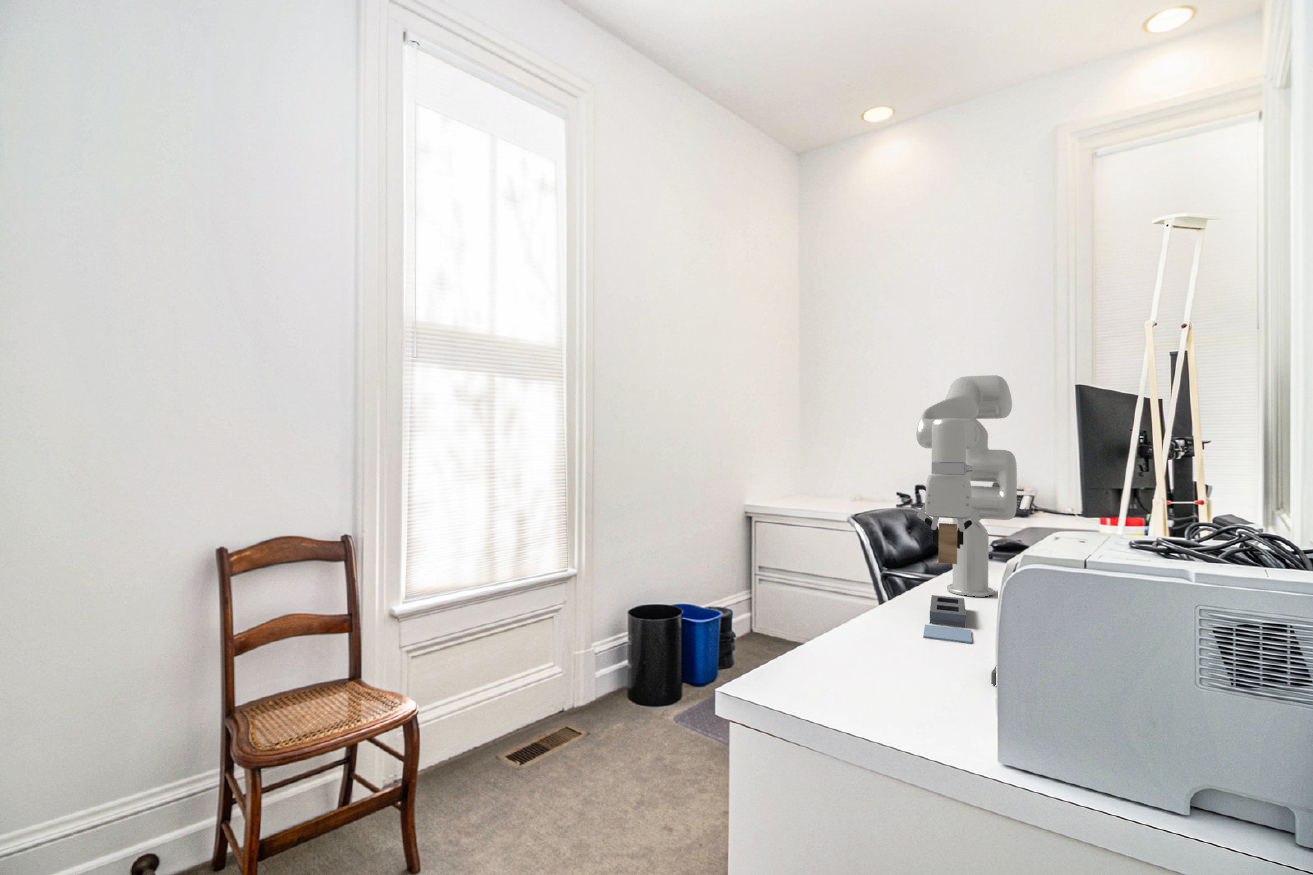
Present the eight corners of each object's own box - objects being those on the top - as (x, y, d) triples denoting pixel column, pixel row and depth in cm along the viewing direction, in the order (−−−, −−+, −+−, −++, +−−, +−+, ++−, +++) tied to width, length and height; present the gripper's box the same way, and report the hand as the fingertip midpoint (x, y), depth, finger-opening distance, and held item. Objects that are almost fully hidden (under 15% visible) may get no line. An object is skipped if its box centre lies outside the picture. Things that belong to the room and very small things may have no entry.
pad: (924, 626, 157) (924, 624, 157) (970, 631, 153) (970, 629, 153) (923, 637, 148) (923, 635, 148) (971, 643, 144) (971, 642, 144)
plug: (938, 560, 156) (938, 522, 156) (956, 561, 155) (957, 524, 155) (938, 562, 153) (938, 524, 153) (957, 564, 151) (957, 525, 151)
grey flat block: (931, 606, 176) (931, 595, 176) (964, 609, 173) (964, 598, 173) (929, 623, 160) (929, 611, 160) (965, 627, 156) (965, 615, 156)
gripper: (987, 470, 154) (986, 547, 154) (911, 468, 161) (911, 542, 161) (988, 471, 147) (987, 552, 147) (909, 469, 154) (909, 546, 154)
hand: (947, 546), depth 154 cm, fingers closed on plug, 4 cm apart
